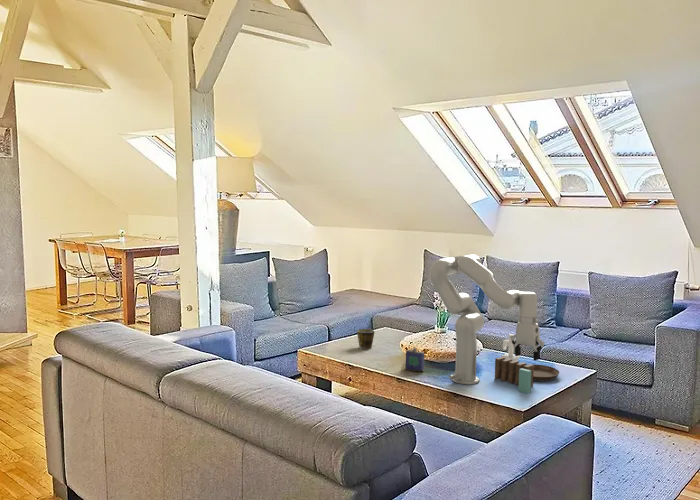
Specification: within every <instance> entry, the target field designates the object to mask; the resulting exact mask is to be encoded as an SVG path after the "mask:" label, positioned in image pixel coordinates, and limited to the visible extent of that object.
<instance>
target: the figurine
mask: <svg viewBox="0 0 700 500" xmlns="http://www.w3.org/2000/svg"><path fill="white" fill-rule="evenodd" d="M513 335H514V334H511V333H510V334H508V338H507V339H503V341H502V350H504V351H505V350H506V349H507V350H508V351H507V353H505V354H502V355H500V357H505V359H512V361H515V360H516V361H519V359H520V358H521V355H520V356H515V347H514V345H513V343H512V341H511V338H510V336H513ZM507 347H508V348H507Z"/></svg>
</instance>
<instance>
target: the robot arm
mask: <svg viewBox="0 0 700 500" xmlns="http://www.w3.org/2000/svg"><path fill="white" fill-rule="evenodd" d="M428 274H429V280H430V283H431V285H432V286H433V288H434V290H435V291H436V293H437V294H438V296H439V298H440V300H441V301H442V302H443V305H444V306H445V308H446V309H447V311H448V312H449V314H451V315H453V316H455V315H457V316H458V315H460V316H459V317H458V318H457V320H456V321H455V325H454V331H455V339H456V341H455V351H456V352H455V371H454V372H453V374H450V375H448V379H449V380H452V381H453V382H455V383H457V384H462V385H474V384H475V385H476V384H478V383H479V382H480V378H479V377H478V376H477V353H478V352H477V351H478V350H477V349H478V343H477V341H478V340H477V335H476V334H477V332H479V331H481V329H483V327H484V325H485V319H484V316H483V314H482V313H481V311H480V309H479V307H478V306H477V304H476V302H475V301H474V299H473V298H472V297H471V295H469V294H468V293H467V292H459V291H458V290H457V288H456V287H455V285H454V283H453V282H452V281H451V280H450V279H449V276H453V275H457V274H458V275H459V274H463V275H464V276H465V277H467V278H469V279H470V280H471V281H472V282H474V284H475V285H476V286H478V287H480V288H481V291H483V293H484V294H485V295H486V297H487V298H488V299H489V300H491V302H493V303H494V304H495V305H496V306H498V307H500V308H501V309H505V310H509V309H512V308H515V307H518V322H517V324H516V327H515V328H516V329H515V334H513V336H510V338H511V341H512V343H513V345H514V354H515V356H520V357H521V352H522V351H521V350H522V349H521V345H522V346H525V347H526V346H527V347H530V348H531V347H532V349H533V350H534V351H533V361H538V360H539V359H540V352H541V351H542V349H543V348H544V346H545V344H546V342H544V340H542V338H541V336H540V335H541V334H540V327H539V324H538V322H539V318H537V305H538V304H537V303H538V299H537V296H538V295H537V294H536V293H535V292H534V291H520V290H518V289H517V290H516V289H510V290H505V289H504V288H503V287H501V286H500V285H499V284H498V283H497V282H496V280H495V279H494V278H495V277H494V273H493V272H492V271H491V270H489V269H488V268H487V267H485V266H484V265H483V263H482V260H481V258H480V257H479V256H478V255H476V254H474V253H473V254H467V255H458V256H450V257H448V256H447V257H443V258H440V259H436V260H435V261H434V262H433V263H432V264H431V266H430V268H429V273H428Z"/></svg>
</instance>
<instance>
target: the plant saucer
mask: <svg viewBox="0 0 700 500" xmlns="http://www.w3.org/2000/svg"><path fill="white" fill-rule="evenodd" d="M529 364H530V363H529ZM529 364H527V363H526V365H529ZM532 365H534V373H533V382H534V381H535V382H548V381H549V382H550V381H553V380H554V379H556V378H557V377H558V376H559V375H560V370H559V369H557V368H555V367H552V366H548V365H544V364H534V363H533V364H532Z"/></svg>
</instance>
